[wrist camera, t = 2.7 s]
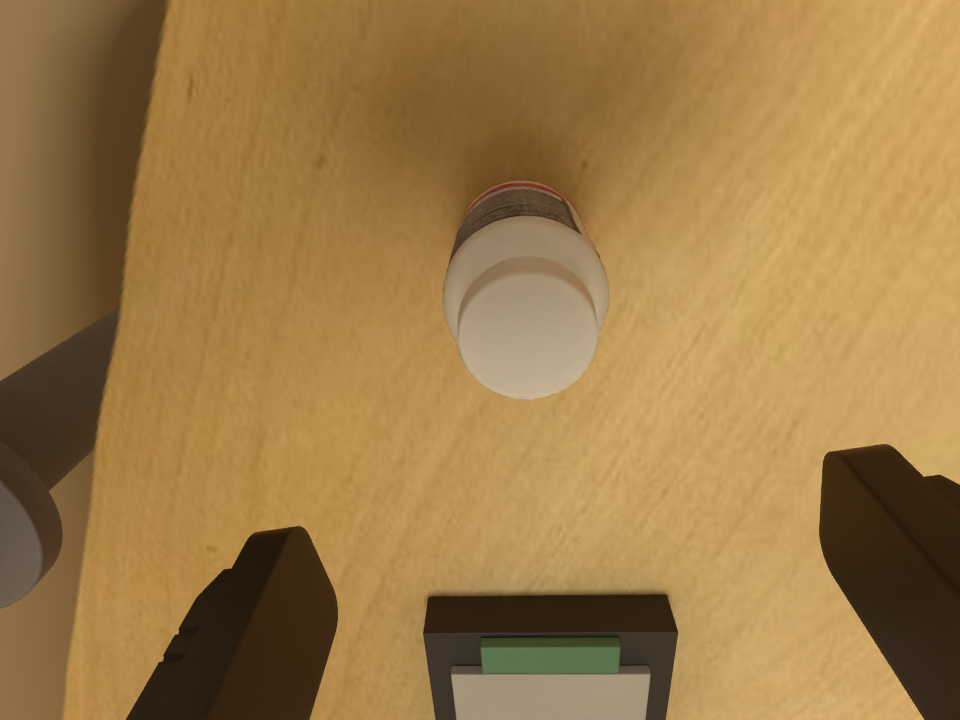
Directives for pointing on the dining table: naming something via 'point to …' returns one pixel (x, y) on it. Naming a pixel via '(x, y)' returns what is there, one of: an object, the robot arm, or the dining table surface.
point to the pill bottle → (525, 291)
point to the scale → (550, 657)
